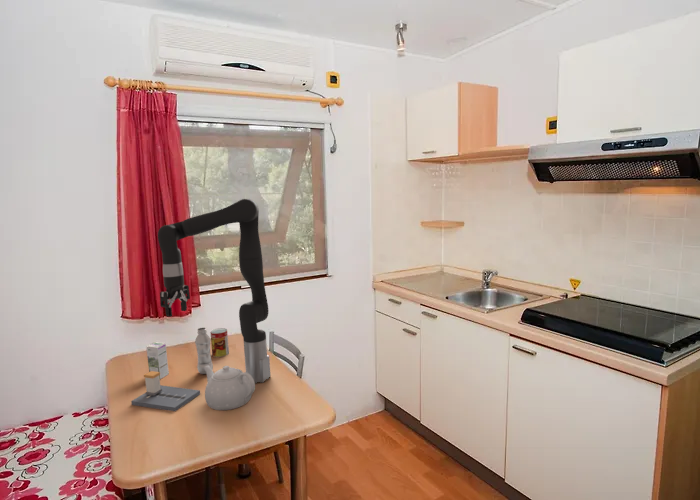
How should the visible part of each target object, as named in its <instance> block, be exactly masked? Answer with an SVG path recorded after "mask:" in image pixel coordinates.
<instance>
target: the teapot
mask: <svg viewBox="0 0 700 500" xmlns="http://www.w3.org/2000/svg"><path fill="white" fill-rule="evenodd" d="M203 369H204V370H205V371H206V374H205V375H206V379H207V380H206V381H207V383H206V386H205V389H204V399H205V402H206V404H207V406H208V407H209V408H210V409H212V410H215V411H228V410H234V409H237V408H240V407H242V406H245V405H246V404H247V403H248V402H249V401H250V400H251V398H252V396H253V394H254V392H255V391H256V383H255V382H254V379H253V378H252V376H251V375H250V374H249V373H247V372H246V371H243V370H241V369H239V368H235V367H230V366H229V365H225V366H223V367H222V368H220V369H218V370H216V371H215V372H214V371H213V370H212V369H211V368H210V366H205V367H204V368H203Z"/></svg>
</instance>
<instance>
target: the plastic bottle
mask: <svg viewBox="0 0 700 500" xmlns="http://www.w3.org/2000/svg"><path fill="white" fill-rule="evenodd" d="M194 343H195V346H196V351H197V367H196V368H197V371H198V373H199V374H201V375H207V374H206V371H205V370H204V369H203V368H204V367H205V366H210V368H211V369H212V371H213V370H214V369H213V368H214V365H213V360H212V356H211V355H212V354H211V336H209V335H208V331H207V327H198V328H197V336H196V337H195V341H194Z"/></svg>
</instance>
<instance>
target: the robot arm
mask: <svg viewBox="0 0 700 500" xmlns="http://www.w3.org/2000/svg"><path fill="white" fill-rule="evenodd" d="M259 210H260V209H259V205H258V204H257V202H256V201H254V200H253V199H250V198H240V199H239V200H238V201H236V202H234V203H233V204H230V205H228V206H226V207H224V208H220V209H218V210H215V211H211V212H207V213H203V214H200V215H199V214H198V215H195V216H192V217H190V218H189V217H188V218H186V219H183V221H182V220H181V221H177V222H174V223H170V224H165V225H162V226H161V227H160V228H159V229H158V231H157V240H158V245H159V247H160V248H159V249H160V251H161V258H162V275H163V276H162V278H163V285H164V288H165V289H166V290H165V291H160V292H159V302H160V307H161V308H165V310H164V311H165V315H166V317H168V318H170V317H173V310H172V305H173V303H175V301H176V300H179V301H180V310H181V312H187V309H188V306H187V302H188V300H190V298H191V295H190V293H191V292H190V288H189V287H190V286H189V285H187V284H185V276H184V268H183V267H184V266H183V262H182V261H183V260H182V254H181V253H182V252H181V250H180V248H179V247H178V246H179V245H178V241H179V240H182V239H185V238H189V237H194V236H197V235H200V234H203V233H205V232H206V233H207V232H210V231H212V230H215V229H217V228H220V227H223V226H225V225H230V224H234V223H235V224H236V223H238V225H239V231H240V239H239V247H238V262H239V270H240V274H241V275H242V277H243V279H244V280H245V282H247V284H248V286H249V288H250V292H251V299H252V301H248V302H246V303H243V304H241V306H239V310H238V311H239V312H238V316H239V317H238V318H239V325H240V332H241V334H242V335H241V336H242V338H243V339H242V340H243V351H244V354H243V355H244V366H245V367H244V369H245V372H247V373H249V374H250V375H251V376H252V378H253V379H254V382H255V384H258V383H257V382H260V383H265V382H266V381H267V380H268V379H270V378H271V377H270V376H272V375H271V363H270V360H271V359H270V355H269V354H268V349H267V348H268V347H267V333H266V331H265V330H263V329H259V328H258V323H260V322H265V320H267V318H268V316H269V304H268V298H267V294H266V293H267V292H266V287H265V279H264V264H263V253H262V245H261V241H260V234H259V216H260V215H259ZM269 377H270V378H269ZM266 379H267V380H266ZM265 380H266V381H265ZM264 381H265V382H264Z"/></svg>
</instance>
